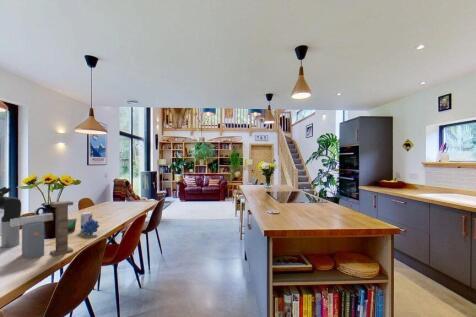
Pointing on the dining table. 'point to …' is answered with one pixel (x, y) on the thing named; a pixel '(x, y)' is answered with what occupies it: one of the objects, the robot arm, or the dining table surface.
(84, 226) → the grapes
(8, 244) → the robot arm
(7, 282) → the dining table surface
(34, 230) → the block
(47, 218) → the steel spout bar
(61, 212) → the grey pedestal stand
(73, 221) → the food container
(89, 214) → the supplement can
